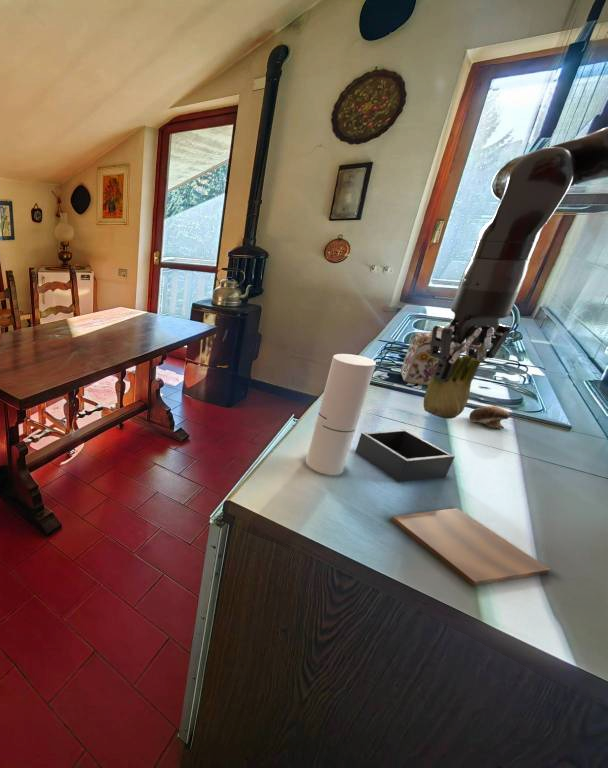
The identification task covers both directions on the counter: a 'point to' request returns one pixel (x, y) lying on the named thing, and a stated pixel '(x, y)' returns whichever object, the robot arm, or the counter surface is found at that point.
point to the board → (469, 546)
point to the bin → (404, 455)
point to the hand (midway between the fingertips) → (452, 379)
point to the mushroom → (489, 416)
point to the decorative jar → (420, 360)
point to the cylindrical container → (339, 412)
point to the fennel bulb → (451, 390)
